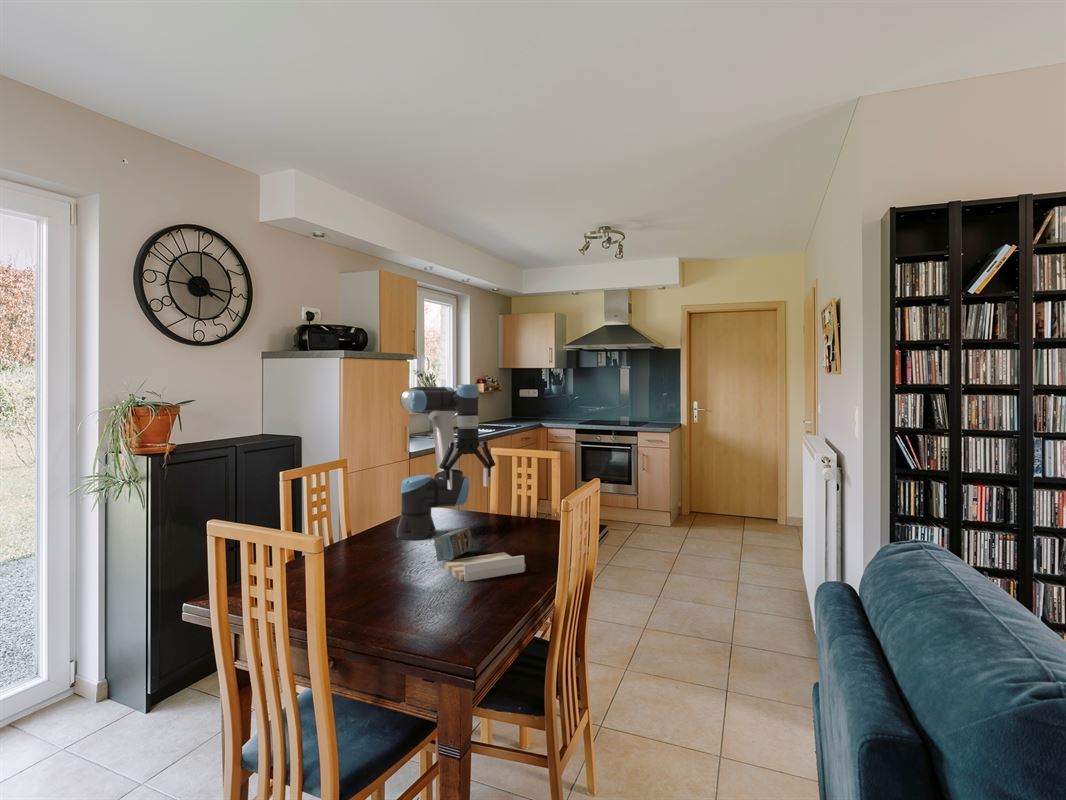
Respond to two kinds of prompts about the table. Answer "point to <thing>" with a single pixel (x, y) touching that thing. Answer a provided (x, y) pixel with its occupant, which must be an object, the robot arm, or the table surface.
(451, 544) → the beverage carton
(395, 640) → the table surface
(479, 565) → the rail
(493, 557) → the shelf board
